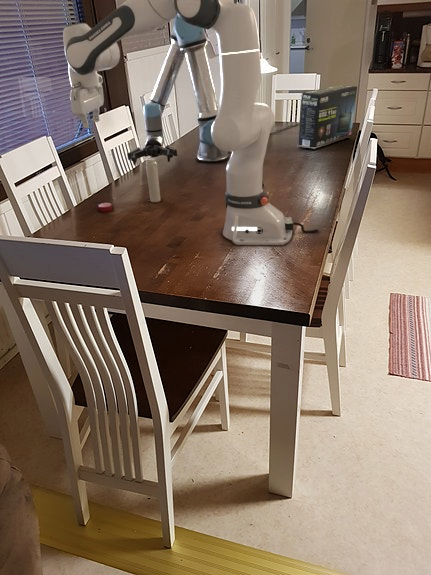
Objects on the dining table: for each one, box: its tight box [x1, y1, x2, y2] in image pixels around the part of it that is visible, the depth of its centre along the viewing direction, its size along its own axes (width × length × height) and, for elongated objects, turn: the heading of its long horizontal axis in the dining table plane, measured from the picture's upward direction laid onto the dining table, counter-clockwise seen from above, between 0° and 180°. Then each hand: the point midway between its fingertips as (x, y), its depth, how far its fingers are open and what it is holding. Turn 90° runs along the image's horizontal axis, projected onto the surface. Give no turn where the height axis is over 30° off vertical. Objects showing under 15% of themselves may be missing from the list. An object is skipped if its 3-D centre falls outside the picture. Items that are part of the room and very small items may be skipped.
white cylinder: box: [145, 157, 162, 203], centre depth 175 cm, size 4×4×16 cm
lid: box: [98, 202, 114, 213], centre depth 172 cm, size 5×5×2 cm
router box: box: [297, 84, 358, 151], centre depth 238 cm, size 36×11×27 cm, turn 134°
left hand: (151, 159), depth 180 cm, fingers open, 13 cm apart
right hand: (91, 124), depth 157 cm, fingers open, 8 cm apart
